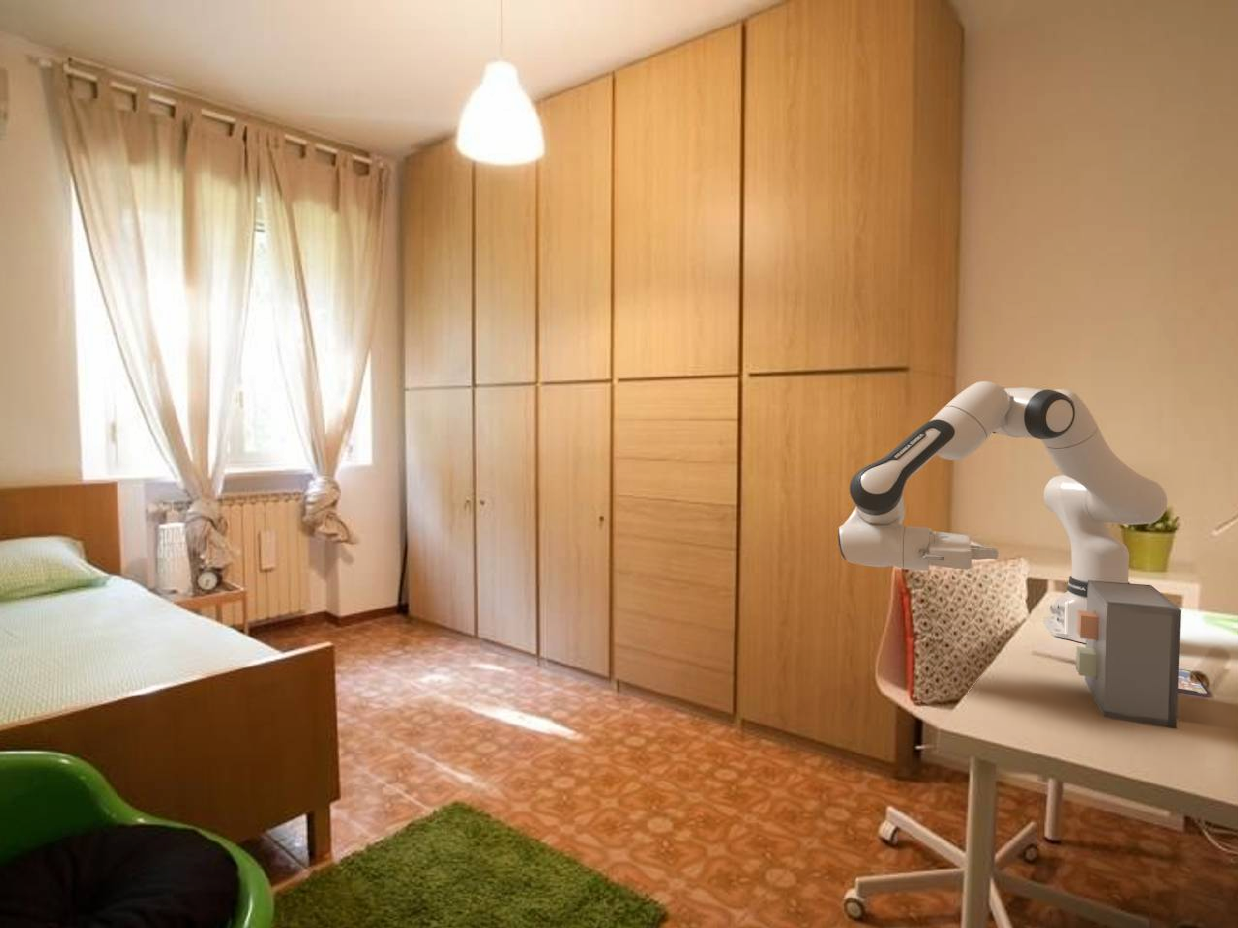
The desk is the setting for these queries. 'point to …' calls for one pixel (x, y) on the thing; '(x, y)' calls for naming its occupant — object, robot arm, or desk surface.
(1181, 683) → the smartphone
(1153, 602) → the box
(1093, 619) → the key upper
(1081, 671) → the key lower
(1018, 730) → the desk surface
